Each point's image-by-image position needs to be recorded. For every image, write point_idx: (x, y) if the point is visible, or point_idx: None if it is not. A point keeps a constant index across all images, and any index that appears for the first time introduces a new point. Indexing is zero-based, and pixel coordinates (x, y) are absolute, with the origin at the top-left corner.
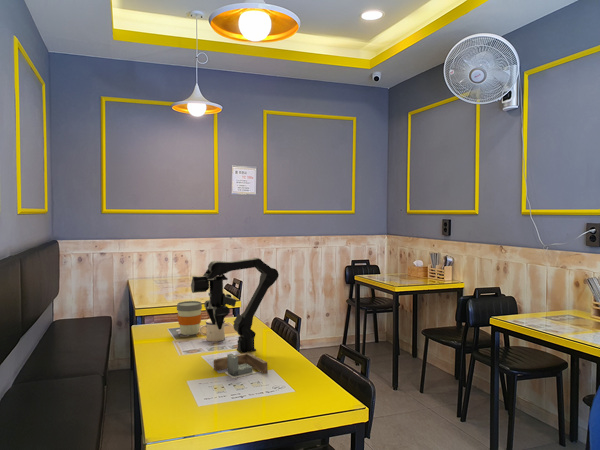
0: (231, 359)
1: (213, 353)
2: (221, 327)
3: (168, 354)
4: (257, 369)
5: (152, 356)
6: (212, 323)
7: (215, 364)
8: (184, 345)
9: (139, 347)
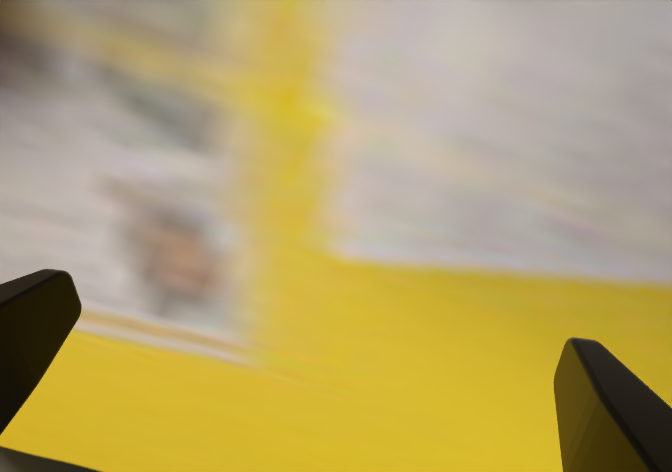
0: None
1: (317, 143)
2: (630, 377)
3: (204, 400)
4: None
5: (212, 462)
6: (63, 338)
7: None
8: (18, 266)
9: (29, 450)
